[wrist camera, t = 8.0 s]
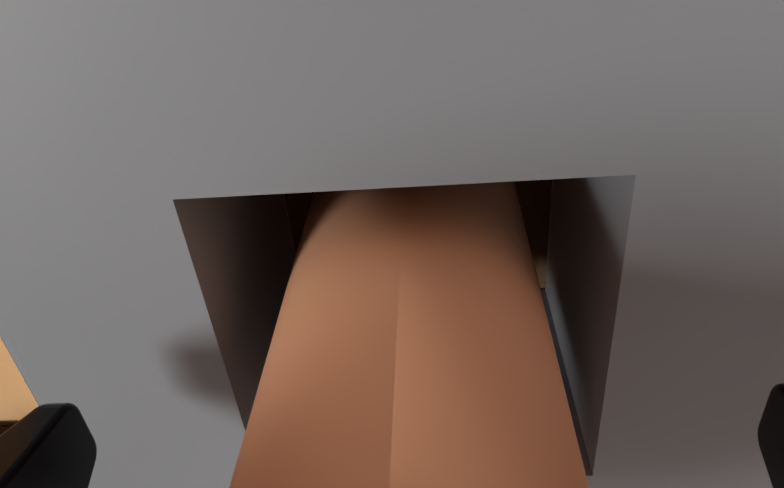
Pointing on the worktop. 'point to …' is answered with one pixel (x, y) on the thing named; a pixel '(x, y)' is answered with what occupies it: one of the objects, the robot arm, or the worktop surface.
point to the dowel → (412, 351)
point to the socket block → (393, 170)
